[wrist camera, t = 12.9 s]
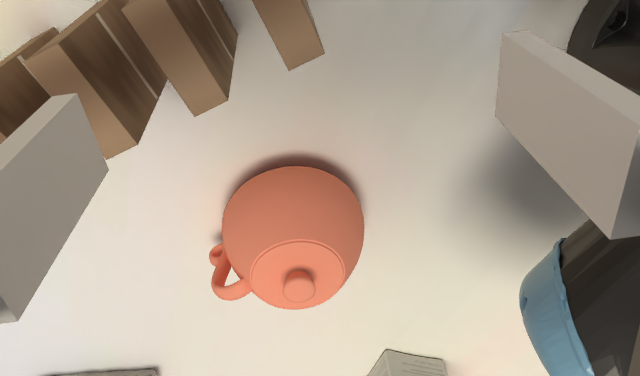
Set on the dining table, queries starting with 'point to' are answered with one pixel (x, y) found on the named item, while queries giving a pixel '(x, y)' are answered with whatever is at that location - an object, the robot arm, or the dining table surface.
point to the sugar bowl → (289, 238)
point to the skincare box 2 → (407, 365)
